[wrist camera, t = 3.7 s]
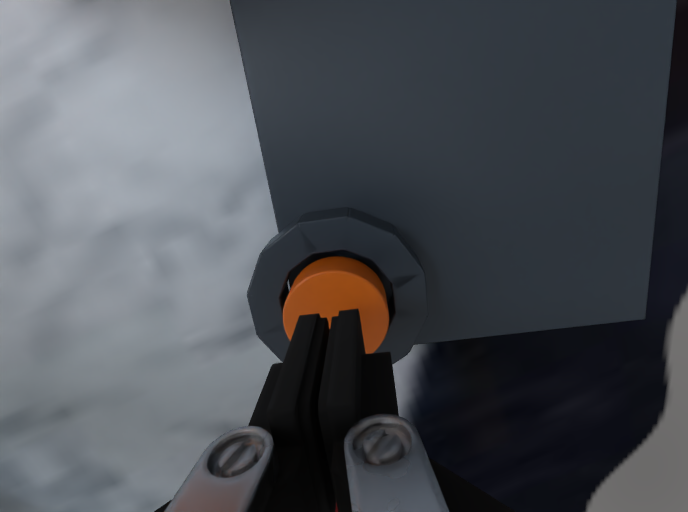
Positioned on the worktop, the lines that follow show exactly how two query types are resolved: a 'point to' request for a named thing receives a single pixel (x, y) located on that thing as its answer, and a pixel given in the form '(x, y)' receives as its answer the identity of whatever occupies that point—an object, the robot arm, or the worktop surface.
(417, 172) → the scale
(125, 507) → the worktop surface
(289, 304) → the button
